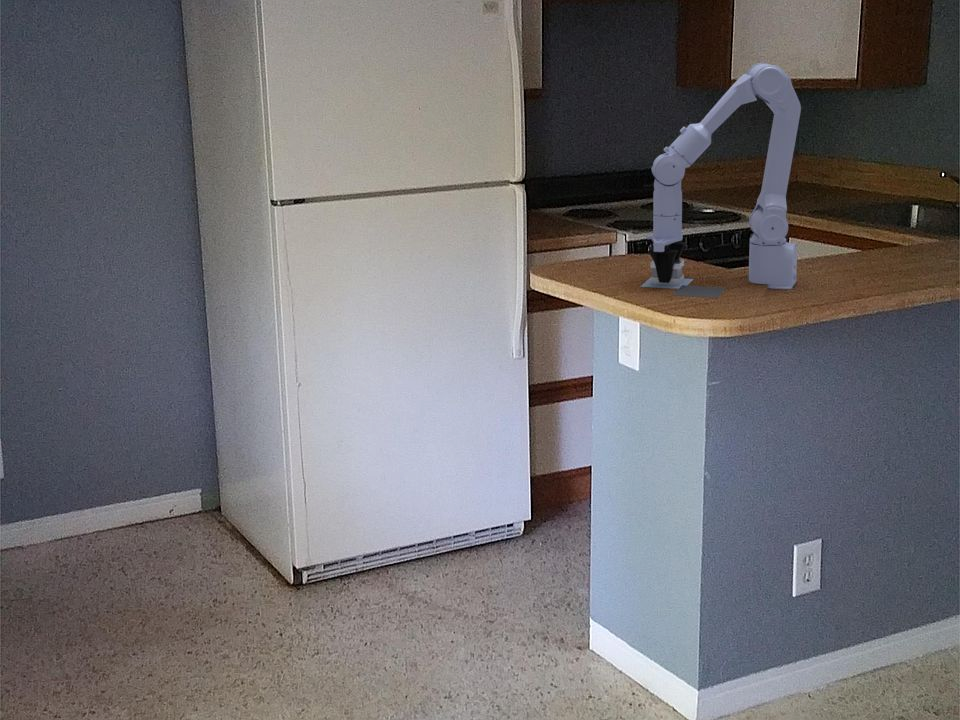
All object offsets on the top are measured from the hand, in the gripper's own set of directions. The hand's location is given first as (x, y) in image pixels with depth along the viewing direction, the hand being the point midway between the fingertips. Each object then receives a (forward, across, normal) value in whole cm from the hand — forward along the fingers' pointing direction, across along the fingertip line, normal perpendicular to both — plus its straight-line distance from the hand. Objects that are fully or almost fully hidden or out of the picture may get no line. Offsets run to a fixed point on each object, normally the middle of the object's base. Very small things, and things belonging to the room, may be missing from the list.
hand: (667, 279), depth 248 cm
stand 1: (+1, 0, 0) cm, 1 cm away
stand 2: (+1, +6, +8) cm, 10 cm away
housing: (+1, 0, 0) cm, 1 cm away
